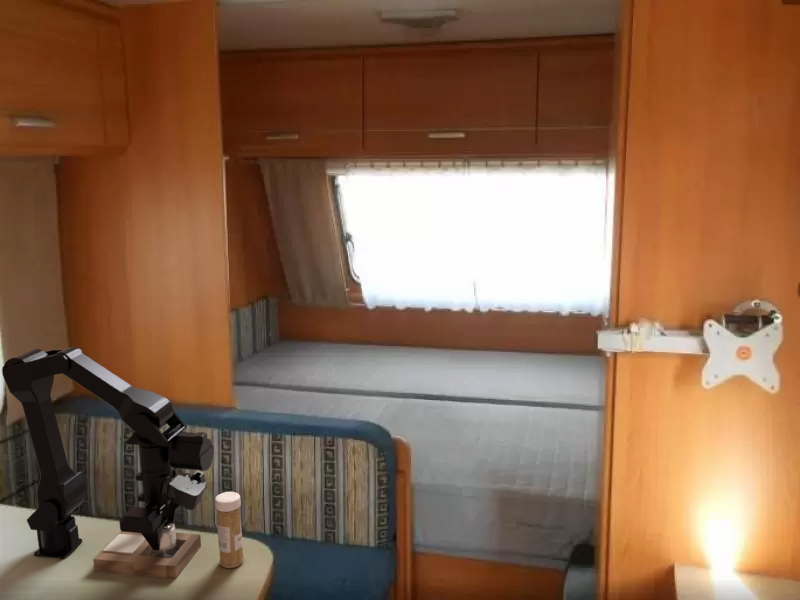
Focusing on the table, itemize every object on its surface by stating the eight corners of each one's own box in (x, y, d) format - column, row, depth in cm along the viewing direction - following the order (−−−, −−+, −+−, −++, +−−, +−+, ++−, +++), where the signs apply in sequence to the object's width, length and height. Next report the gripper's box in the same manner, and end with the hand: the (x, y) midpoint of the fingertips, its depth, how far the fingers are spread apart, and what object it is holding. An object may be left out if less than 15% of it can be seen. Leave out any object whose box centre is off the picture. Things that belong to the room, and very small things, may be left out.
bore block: (94, 571, 140) (92, 557, 140) (124, 539, 151) (123, 527, 150) (176, 578, 138) (175, 564, 137) (201, 546, 149) (200, 533, 148)
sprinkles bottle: (247, 564, 142) (244, 498, 139) (224, 572, 140) (220, 504, 137) (238, 553, 146) (234, 488, 143) (215, 560, 144) (211, 494, 141)
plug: (146, 565, 142) (143, 531, 141) (158, 551, 147) (155, 518, 145) (170, 567, 141) (167, 533, 140) (181, 553, 146) (179, 520, 144)
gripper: (175, 492, 130) (181, 574, 133) (217, 447, 148) (222, 521, 151) (114, 487, 131) (122, 569, 135) (163, 444, 149) (169, 517, 153)
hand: (162, 542), depth 143 cm, fingers closed on plug, 5 cm apart
